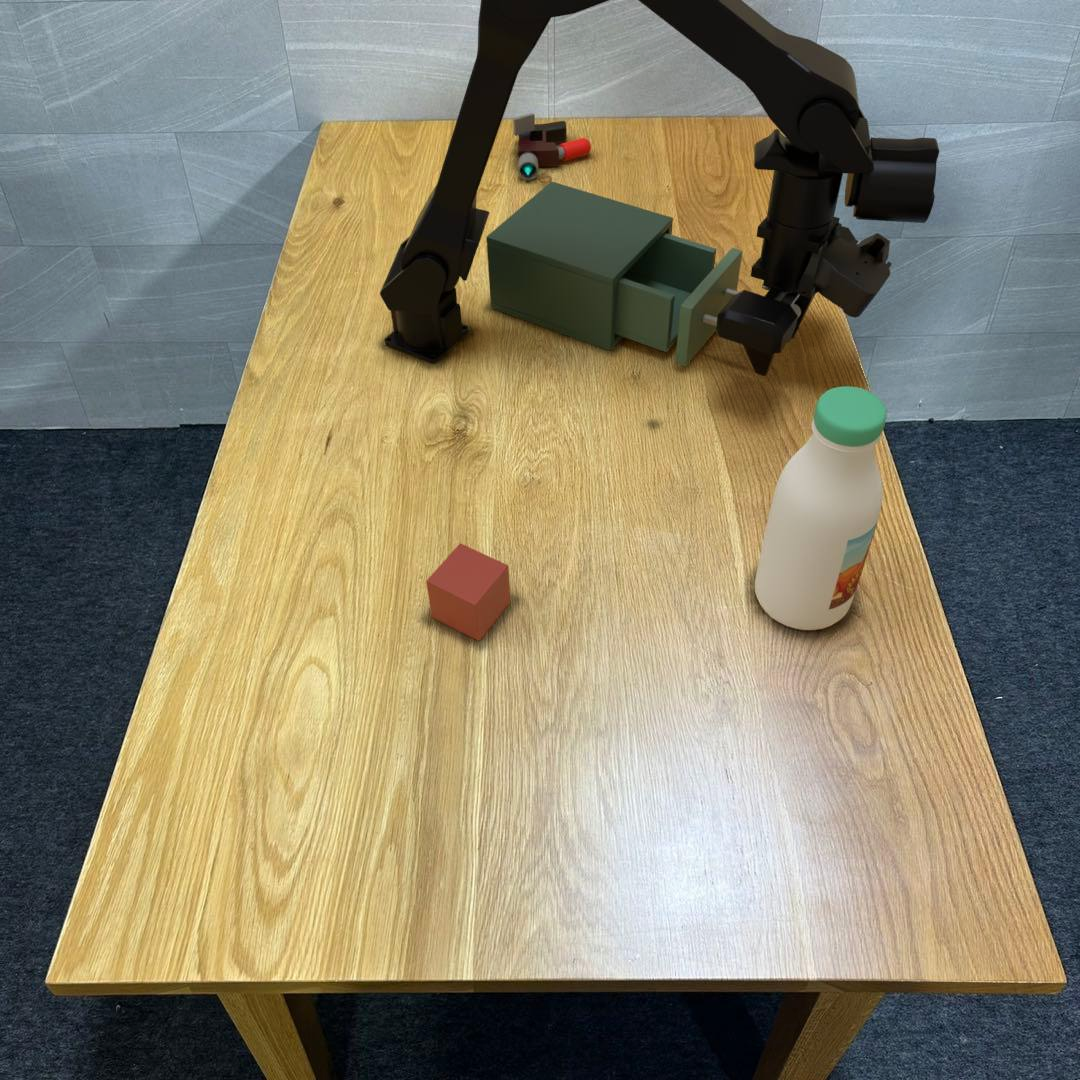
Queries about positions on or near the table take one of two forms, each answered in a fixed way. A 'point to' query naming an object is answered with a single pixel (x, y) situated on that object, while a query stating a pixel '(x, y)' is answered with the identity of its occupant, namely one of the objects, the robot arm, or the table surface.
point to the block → (469, 591)
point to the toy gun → (544, 145)
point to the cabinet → (569, 260)
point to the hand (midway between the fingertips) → (774, 355)
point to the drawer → (676, 295)
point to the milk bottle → (824, 514)
